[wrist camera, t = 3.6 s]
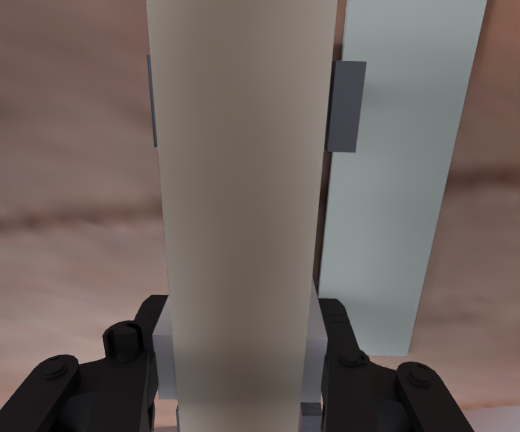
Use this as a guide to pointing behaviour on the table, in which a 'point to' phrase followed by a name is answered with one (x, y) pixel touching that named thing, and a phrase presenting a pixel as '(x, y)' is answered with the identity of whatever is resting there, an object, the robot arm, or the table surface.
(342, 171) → the mat
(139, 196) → the table surface
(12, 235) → the table surface
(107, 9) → the table surface
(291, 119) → the rail
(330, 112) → the rack
